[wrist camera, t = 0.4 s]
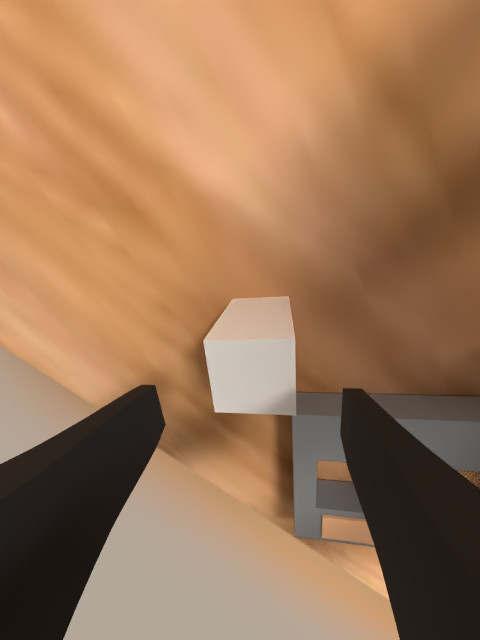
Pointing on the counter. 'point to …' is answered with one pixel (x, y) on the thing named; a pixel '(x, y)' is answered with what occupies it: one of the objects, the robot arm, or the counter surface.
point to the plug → (253, 357)
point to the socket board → (325, 444)
